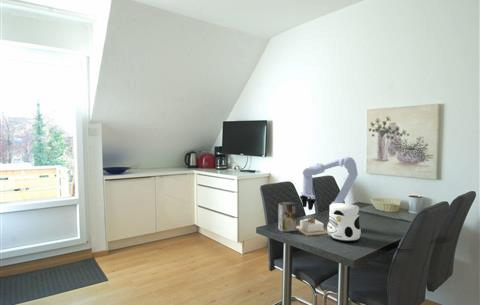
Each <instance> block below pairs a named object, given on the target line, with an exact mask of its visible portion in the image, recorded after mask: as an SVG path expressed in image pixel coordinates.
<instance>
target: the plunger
mask: <svg viewBox="0 0 480 305" xmlns="http://www.w3.org/2000/svg"><path fill="white" fill-rule="evenodd" d="M307 219H308V222H311V224H312V222H315V220H316V218H315V217H313V216H310V217H308V218H307Z"/></svg>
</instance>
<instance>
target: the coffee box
mask: <svg viewBox="0 0 480 305" xmlns="http://www.w3.org/2000/svg"><path fill="white" fill-rule="evenodd" d="M277 211H278V212H277V215H278V219H277V221H278V222H277V223H278V225H277V226H278V227H277V228H278V230H279V231H280V232H284V233H287V232H296V231H297V229H296V226H297V203H295V202H292V201H287V202H278V208H277Z"/></svg>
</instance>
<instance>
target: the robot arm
mask: <svg viewBox="0 0 480 305" xmlns="http://www.w3.org/2000/svg"><path fill="white" fill-rule="evenodd" d="M343 166H344V168H345V169H346V171H347V173H348V176H347V177H346V179H345V181H344V183H343V184H342V187H341V189H340V191H339V192H338V194H337V196H336V198H335V199H334V201H333V200H332V202H331V204H334V203H344V201H345V200H346V198H347V196H348V195H349V192H350V190H351V189H352V187H353V185H354V183H355V181H356V179H357V177H358V175H359V174H358V169H357V163H356V160H354V158H353V157H351V156H347V157H343V158H339V159H335V160H333V161H330V162H327V163H316V164H315V165H313V166H311V165H310V166H309V167H306V168H304V170H303V172H302V175H303V181H302V183H303V184H302V191H301V192H300V195H299V199H300V200H301V205H302V208H307V209H308V210H309V211H313V207H314V205H315V202H316V201H317V199H316V196H315V195H314V194H313V176H316V175H317V176H318V175H319V174H322V173H325V172H326V170H328V169H331V168H336V167H341V168H342V167H343ZM331 204H330V205H331ZM327 226H328V224H327V225H326V227H327Z"/></svg>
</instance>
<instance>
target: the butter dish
mask: <svg viewBox="0 0 480 305" xmlns="http://www.w3.org/2000/svg"><path fill="white" fill-rule="evenodd" d="M324 225H325V224H324V223H323V222H321V221H319V220H317V219H315V222H312V224H311V222H308V218H306V219H300V220H299V225H296V231H298V230H299V231H298V232H300V233H302V234H303V235H305V236H314V235H315V236H316V235H326V234H328V232H327V229H326V228H324Z"/></svg>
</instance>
